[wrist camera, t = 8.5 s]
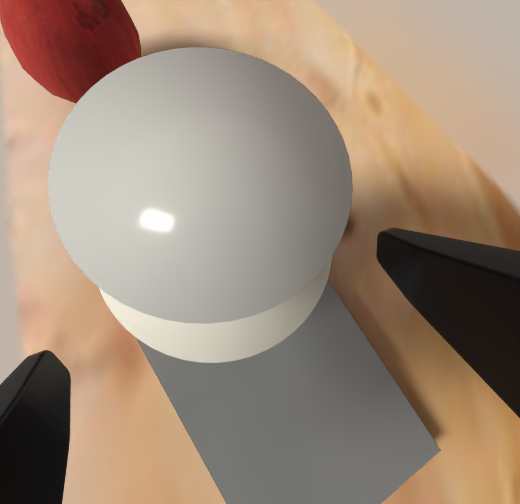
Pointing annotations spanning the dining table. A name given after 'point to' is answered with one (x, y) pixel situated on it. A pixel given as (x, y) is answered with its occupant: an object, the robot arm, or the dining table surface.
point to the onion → (69, 41)
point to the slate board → (300, 416)
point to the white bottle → (202, 200)
